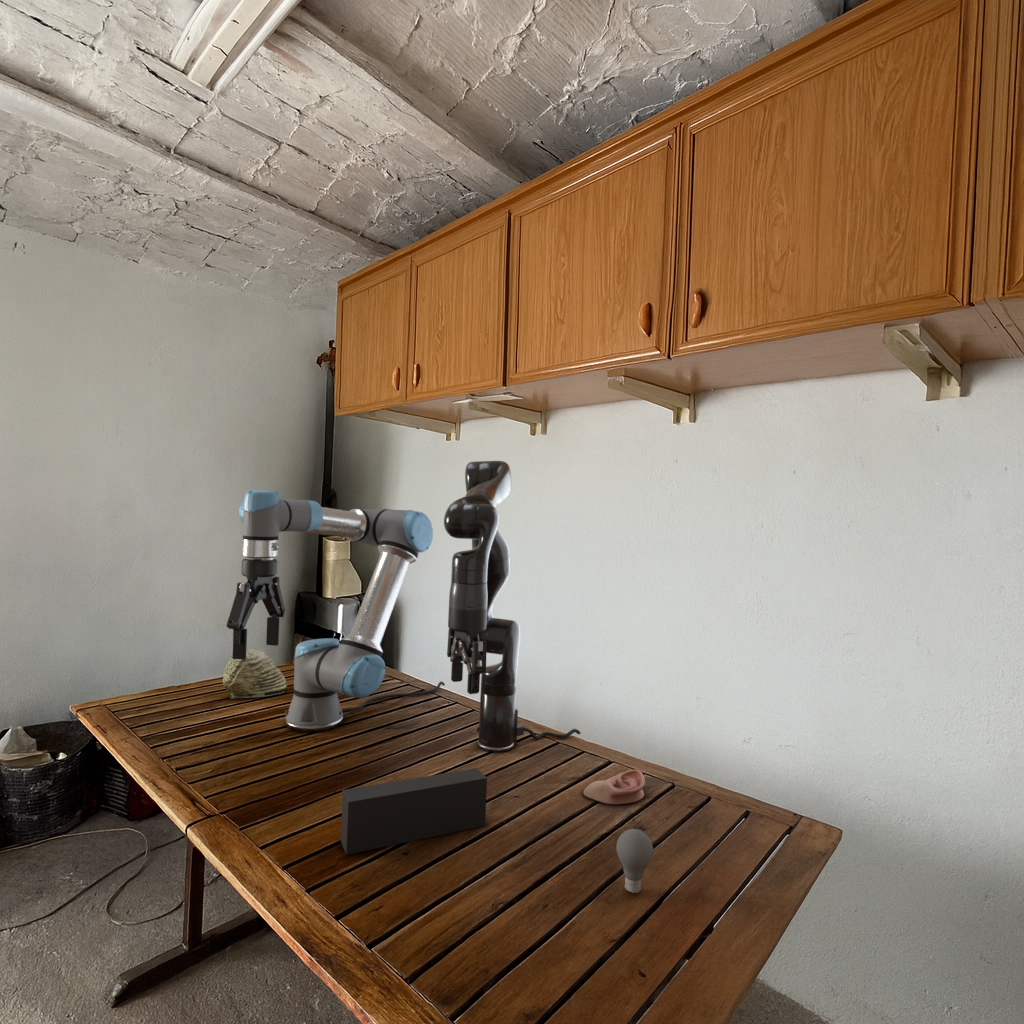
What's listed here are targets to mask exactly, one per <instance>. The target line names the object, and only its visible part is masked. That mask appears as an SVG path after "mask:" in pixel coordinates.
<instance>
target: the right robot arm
mask: <svg viewBox="0 0 1024 1024" xmlns="http://www.w3.org/2000/svg"><path fill="white" fill-rule="evenodd" d="M512 477H513V476H512V471H511V467H510V465H509V464H508V462H506V461H503V460H482V461H481V460H480V461H479V460H477V461H469V462H467V464H466V466H465V472H464V483H465V492H466V494H465V495H464V496H463V497H459V498H458V499H456V500H454V501H453V502H451V503H450V505H449V506H448V507H447V509H446V510H445V513H444V516H443V527H444V530H445V532H446V533H447V535H449V536H450V537H451V538H454V539H459V540H471V547H472V548H471V549H468V550H461V551H457V552H454V553H453V555H452V558H451V575H450V576H451V577H450V578H451V579H450V588H449V595H448V618H447V627H448V631H447V632H448V633H447V649H446V655H447V658H449V662H451V668H450V669H451V671H450V673H451V674H450V675H451V676H450V681H452V682H453V683H458V682H462V681H463V676H464V674H463V673H464V664H465V665H466V670H467V688H466V689H467V690H466V692H467V694H469V695H476V694H479V693H480V699H479V718H478V719H479V720H478V721H479V722H478V727H476V733H478V739H477V746H478V747H479V748H480V749H482V750H484V751H487V752H493V753H494V752H495V753H501V752H507V751H510V750H512V749H513V748H514V747H515V746H517V744H518V743H517V740H518V738H517V737H521V736H524V735H525V732H527V733H529V734H530V736H531V738H533V739H534V740H540V739H542V737H546V736H547V737H553V738H556V739H566V738H568V737H570V736H571V735H573V734H574V733H576V734H577V735H581V731H580V730H579V729H577V728H572V729H571V730H569V731H568V732H566V733H564V734H563V733H562V734H561V733H560V734H559V733H554V732H550V731H543V732H541V733H539V734H538V735H536V734H535V732H534V731H533V730H532V729H530V728H528V727H525V726H524V725H522V724H520V723H518V718H519V710H518V707H517V708H516V700H517V699H516V698H517V696H516V695H517V674H518V667H519V653H520V644H521V626H520V624H519V622H518V621H517V620H514V619H506V618H498V617H494V615H493V607H494V603H495V601H496V599H497V597H498V595H499V594H500V592H501V590H502V589H503V587H504V586H505V584H506V582H507V581H508V580H509V577H510V573H511V563H510V561H511V560H510V549H509V546H508V544H507V542H506V540H505V538H504V537H503V536H502V534H501V533H500V531H499V530H498V527H499V523H500V516H499V512H498V510H497V507H498V506H499V505H500V504H501V503H502V502H503V501H504V500H505V499H507V497H509V495H510V493H511V490H512V485H513V481H512V479H513V478H512ZM487 654H490V655H491V654H492V655H500V656H501V657H502V658H501V661H500V662H498V663H494V664H489V665H487Z"/></svg>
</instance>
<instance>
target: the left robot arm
mask: <svg viewBox="0 0 1024 1024" xmlns="http://www.w3.org/2000/svg"><path fill="white" fill-rule="evenodd" d="M238 518H239V521H240V522H241V523H242V545H241V557H243V559H242V560H241V575H242V576H243V577H245V578H246V581H245V582H237V584H236V589H235V595H234V599H233V602H232V605H231V608H230V612H229V615H228V618H227V621H226V625H225V626H226V628H227V629H229V630H232V653H233V659H242V660H244V659H246V647H247V644H248V643H247V642H248V628H246V626H247V623H248V621H249V619H250V617H251V615H252V612H253V610H254V608H255V605H256V604H258V603H259V601H262V603H263V605H264V607H265V609H266V611H267V613H268V615H269V616H268V617H267V618H266V640H265V641H266V642H265V644H266V646H275V647H278V646H279V642H280V640H279V639H280V618H284V617H285V612H286V607H285V603H284V599H283V593H282V590H281V585H280V584H281V583H280V576H277V574H278V560H277V559H276V558H277V557H278V554H279V553H278V551H279V547H280V546H279V545H280V544H279V537H280V535H279V534H280V533H281V532H296V533H303V534H305V533H306V534H315V535H323V536H333V537H341V538H345V539H346V540H348V541H349V542H355V543H361V544H365V545H369V546H372V547H377V549H378V552H379V558H378V560H377V562H376V566H375V568H374V571H373V573H372V576H371V577H370V578H371V579H370V581H369V584H368V587H367V589H366V592H365V594H364V597H363V600H362V602H361V605H360V608H359V610H358V612H357V615H356V618H355V620H354V623H353V625H352V628H351V630H350V634H348V635H346V636H344V637H343V638H342V639H341V641H339V639H338V638H335V637H333V638H332V637H329V638H315V639H308V640H304V641H302V642H299V643H298V644H297V645H296V646H295V652H294V653H295V654H294V656H293V659H294V661H293V662H294V663H293V664H294V668H293V695H292V696H293V697H292V699H291V702H290V704H289V708H288V709H285V710H284V716H285V726H286V728H287V729H289V730H291V731H294V732H295V731H296V732H301V733H316V732H325V731H329V730H332V729H335V728H337V727H339V726H340V725H342V723H343V722H344V714H343V712H351V711H357V710H360V709H363V708H364V707H365V706H366V705H367V704H369V703H371V702H373V701H377V700H382V699H388V698H389V699H390V698H397V697H414V696H421V695H427V694H431V693H435V692H436V691H438V690H439V689H440V687H441V686H446V684H445V682H444V681H442V680H441V681H439V682H438V684H437V686H436V687H434V688H431V689H429V690H423V691H417V692H404V693H391V694H384V695H378V696H374V697H370V695H372V694H374V693H375V692H376V691H377V690H378V689H379V688H380V686H381V685H382V683H383V681H384V678H385V674H386V668H385V666H386V663H385V660H384V659H383V658H382V656H383V653H384V651H383V648H382V645H381V643H382V641H383V638H384V635H385V632H386V629H387V628H388V627H387V626H388V624H389V621H390V618H391V616H392V613H393V610H394V607H395V605H396V602H397V599H398V596H399V594H400V591H401V589H402V585H403V582H404V580H405V577H406V574H407V572H408V569H409V566H410V565H411V564H414V563H416V562H417V560H418V557H419V554H420V553H424V552H426V551H427V550H428V549H429V548H430V547H431V545H432V543H433V539H434V528H433V525H432V522H431V520H430V518H429V517H428V515H426V514H425V513H424V512H423V511H417V510H412V509H407V510H406V509H405V510H404V509H391V508H390V509H389V508H375V509H374V508H373V509H360V508H351V509H350V510H345V509H337V508H331V507H325V506H321V504H320V503H318V501H315V500H309V499H288V498H287V499H286V498H285V499H284V498H281V494H280V492H279V491H277V490H260V489H259V490H258V489H249V490H247V491H246V492H245V493H244V499H243V501H242V502H241V504H240V506H239V509H238ZM338 694H340V695H344V696H346V697H348V698H357V699H365V698H367V697H370V698H368V699H366V700H365V701H364V702H363V703H362V704H360V705H358V706H352V707H351V706H350V707H345V708H342V706H341V702H340V699H339V695H338Z"/></svg>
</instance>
